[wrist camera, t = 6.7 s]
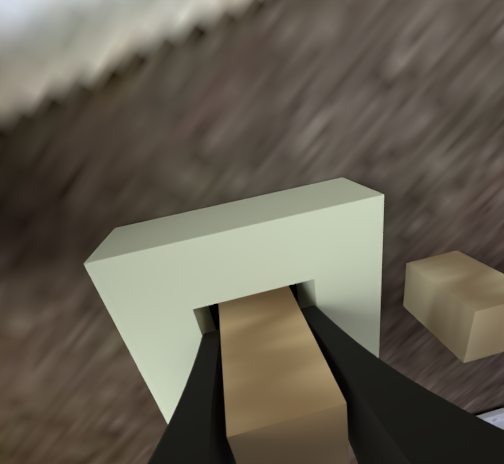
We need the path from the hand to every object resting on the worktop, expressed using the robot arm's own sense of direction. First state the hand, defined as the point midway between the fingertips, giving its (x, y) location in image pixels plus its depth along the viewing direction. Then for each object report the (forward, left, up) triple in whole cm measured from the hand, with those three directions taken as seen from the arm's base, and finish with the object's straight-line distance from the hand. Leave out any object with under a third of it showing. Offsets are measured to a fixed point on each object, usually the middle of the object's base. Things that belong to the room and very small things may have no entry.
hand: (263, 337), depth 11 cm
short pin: (-10, +2, -3) cm, 11 cm away
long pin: (0, 0, -3) cm, 3 cm away
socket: (0, 0, -3) cm, 3 cm away
